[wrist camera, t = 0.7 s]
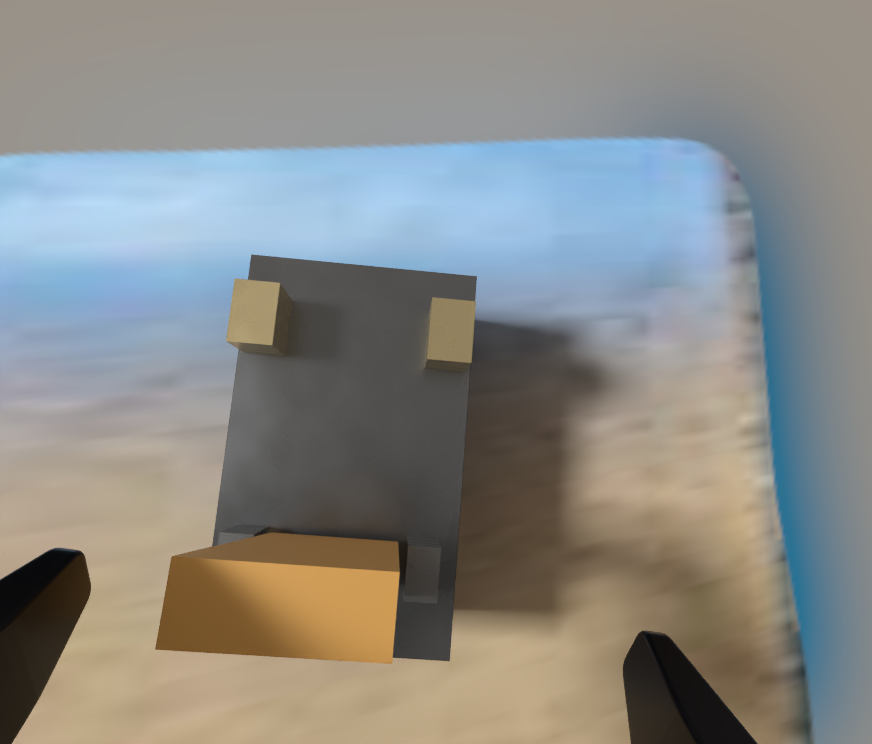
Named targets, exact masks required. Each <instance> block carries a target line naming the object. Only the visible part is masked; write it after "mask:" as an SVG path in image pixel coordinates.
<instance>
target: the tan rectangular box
mask: <svg viewBox="0 0 872 744" xmlns="http://www.w3.org/2000/svg"><path fill="white" fill-rule="evenodd" d="M399 575H400V568H399V549H398V541H384V540H370V539H356V538H342V537H328V536H314V535H300V534H286V533H272V532H271V533H267V534H263V535H259V536H255V537H250V538H246V539H242V540H238V541H234V542H230V543H225V544H221V545H217V546H213V547H209V548H205V549H200V550H196V551H192V552H188V553H184V554H180V555H175V556H172V558H171V563H170V569H169V575H168V580H167V586H166V592H165V597H164V603H163V609H162V615H161V620H160V626H159V632H158V637H157V643H156V649H157V650H173V651H190V652H206V653H223V654H240V655H256V656H273V657H289V658H306V659H322V660H339V661H355V662H372V663H389V664H392V658H393V646H394V634H395V622H396V610H397V598H398V587H399Z"/></svg>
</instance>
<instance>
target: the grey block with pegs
mask: <svg viewBox="0 0 872 744" xmlns="http://www.w3.org/2000/svg"><path fill="white" fill-rule="evenodd" d="M476 280H477V276H467V275H456V274H446V273H436V272H425V271H415V270H405V269H394V268H384V267H374V266H363V265H353V264H343V263H332V262H322V261H312V260H301V259H291V258H281V257H270V256H260V255H251V262H250V269H249V277H248V280H244V279H235V281H234V288H233V295H232V303H231V310H230V317H229V324H228V332H227V339H226V341H227V342H228V343H230V344H231V345H233V346H235V347H236V348H238V349H239V351H238V359H237V366H236V374H235V381H234V389H233V396H232V403H231V411H230V418H229V426H228V433H227V441H226V448H225V456H224V463H223V471H222V478H221V486H220V493H219V500H218V508H217V515H216V523H215V530H214V538H213V545H212V547H213V546H217V545H221V544H225V543H230V542H234V541H238V540H242V539H246V538H250V537H255V536H259V535H263V534H267V533H271V532H272V533H286V534H300V535H314V536H328V537H342V538H356V539H370V540H384V541H398V549H399V568H400V575H399V587H398V598H397V610H396V622H395V634H394V646H393V658H408V659H424V660H440V661H450V648H451V633H452V619H453V605H454V591H455V577H456V563H457V549H458V534H459V520H460V506H461V492H462V478H463V464H464V450H465V435H466V421H467V407H468V393H469V379H470V365H471V363H472V349H473V335H474V320H475V306H476V301H475V294H476Z"/></svg>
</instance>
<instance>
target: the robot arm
mask: <svg viewBox="0 0 872 744" xmlns="http://www.w3.org/2000/svg"><path fill="white" fill-rule="evenodd" d="M90 591H91V582H90V578H89V573H88V569H87V564H86V559H85V556H84V554H83V553H82V552H81V551H79V550H73V549H66V548H54V549H51V550H49V551H47V552H45V553H44V554H42V555H40V556H39V557H37V558H35V559H34V560H32V561H30V562H29V563H27V564H25V565H24V566H22V567H20V568H19V569H17V570H15V571H14V572H12V573H10V574H9V575H7V576H5V577H4V578H2V579H0V744H12V742H13V741H14V739H15V737H16V736H17V734H18V733H19V731H20V729H21V728H22V726H23V725H24V723H25V721H26V720H27V718H28V716H29V715H30V713H31V711H32V710H33V708H34V706H35V705H36V703H37V701H38V699H39V698H40V696H41V694H42V692H43V690H44V688H45V686H46V684H47V682H48V680H49V678H50V676H51V674H52V672H53V670H54V668H55V666H56V664H57V662H58V660H59V658H60V656H61V654H62V652H63V650H64V648H65V646H66V644H67V642H68V640H69V638H70V636H71V634H72V632H73V630H74V628H75V625H76V623H77V621H78V619H79V617H80V615H81V613H82V611H83V609H84V607H85V605H86V603H87V601H88V599H89V596H90ZM623 679H624V687H625V696H626V705H627V713H628V722H629V730H630V739H631V744H757V743H756V741H755V740H754V739H753V738H752V736H751V735H750V734H749V733H748V732H747V730H746V729H745V728H744V727H743V726H742V724H741V723H740V722H739V721H738V719H737V718H736V717H735V716H734V715H733V713H732V712H731V711H730V710H729V709H728V707H727V706H726V705H725V704H724V702H723V701H722V700H721V699H720V698H719V696H718V695H717V694H716V693H715V691H714V690H713V689H712V688H711V687H710V685H709V684H708V683H707V682H706V681H705V679H704V678H703V677H702V676H701V674H700V673H699V672H698V671H697V670H696V668H695V667H694V666H693V665H692V664H691V662H690V661H689V660H688V659H687V657H686V656H685V655H684V654H683V653H682V651H681V650H680V649H679V648H678V647H677V645H676V644H675V643H674V642H673V640H672V639H671V638H670V637H669V636H667V635H666V634H663V633H659V632H652V631H641V632H640V633H639V634H638V635H637V637H636V639H635V641H634V643H633V645H632V646H631V648H630V650H629V652H628V654H627V656H626V658H625V660H624V664H623Z"/></svg>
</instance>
